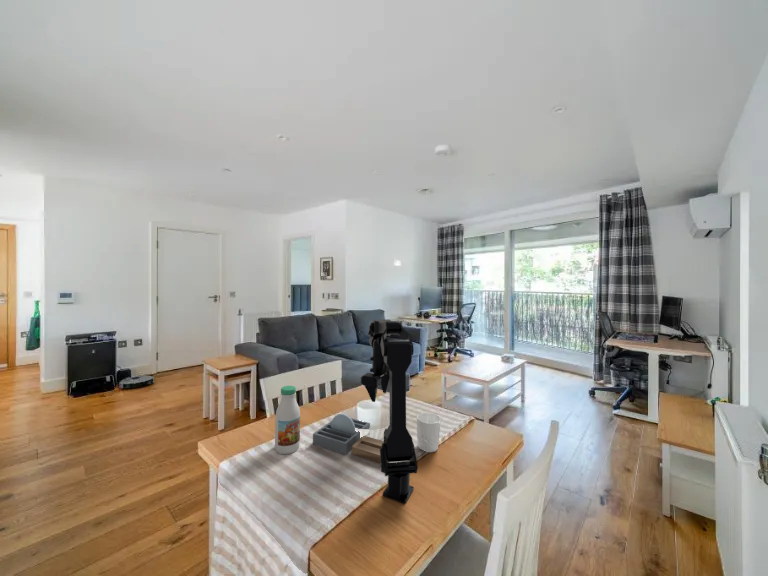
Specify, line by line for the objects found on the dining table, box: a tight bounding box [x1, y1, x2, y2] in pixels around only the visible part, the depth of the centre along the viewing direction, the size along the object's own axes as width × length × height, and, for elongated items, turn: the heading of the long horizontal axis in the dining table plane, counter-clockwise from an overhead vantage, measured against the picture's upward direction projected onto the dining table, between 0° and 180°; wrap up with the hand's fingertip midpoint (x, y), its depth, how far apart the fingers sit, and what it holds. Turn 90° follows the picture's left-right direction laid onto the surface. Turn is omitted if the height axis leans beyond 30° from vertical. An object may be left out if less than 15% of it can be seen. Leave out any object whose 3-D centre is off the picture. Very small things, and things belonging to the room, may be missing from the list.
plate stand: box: [350, 435, 389, 465], centre depth 101 cm, size 8×12×2 cm, turn 64°
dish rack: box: [312, 417, 371, 455], centre depth 110 cm, size 16×13×4 cm
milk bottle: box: [274, 385, 301, 455], centre depth 102 cm, size 8×8×20 cm
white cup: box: [416, 412, 442, 453], centre depth 106 cm, size 8×8×10 cm
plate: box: [330, 413, 355, 435], centre depth 108 cm, size 1×9×9 cm, turn 64°
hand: (379, 397), depth 114 cm, fingers open, 9 cm apart
